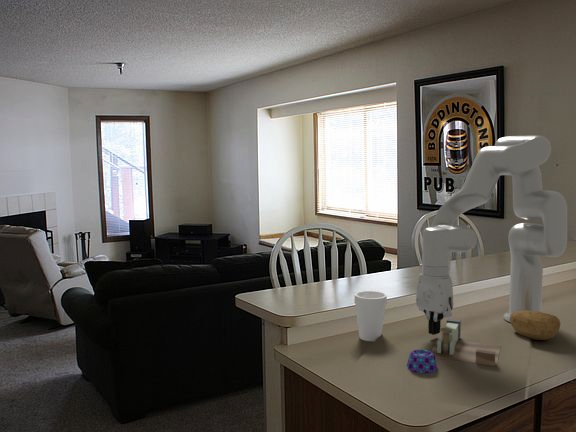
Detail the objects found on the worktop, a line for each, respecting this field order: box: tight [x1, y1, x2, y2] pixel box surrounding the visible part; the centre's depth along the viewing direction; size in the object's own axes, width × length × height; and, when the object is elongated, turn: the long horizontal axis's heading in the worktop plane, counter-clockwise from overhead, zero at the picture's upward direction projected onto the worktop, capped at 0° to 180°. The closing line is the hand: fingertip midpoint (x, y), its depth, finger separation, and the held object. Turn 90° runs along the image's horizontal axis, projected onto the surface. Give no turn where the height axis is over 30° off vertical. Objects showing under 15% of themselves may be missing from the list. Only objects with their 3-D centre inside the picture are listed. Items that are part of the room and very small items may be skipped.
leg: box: [437, 317, 462, 355], centre depth 156 cm, size 16×4×5 cm, turn 155°
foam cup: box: [354, 290, 388, 342], centre depth 166 cm, size 10×9×13 cm
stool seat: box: [430, 327, 502, 367], centre depth 151 cm, size 16×17×8 cm
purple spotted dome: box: [406, 349, 439, 374], centre depth 140 cm, size 12×12×5 cm
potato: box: [509, 310, 561, 341], centre depth 164 cm, size 10×14×8 cm
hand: (434, 333), depth 162 cm, fingers closed
